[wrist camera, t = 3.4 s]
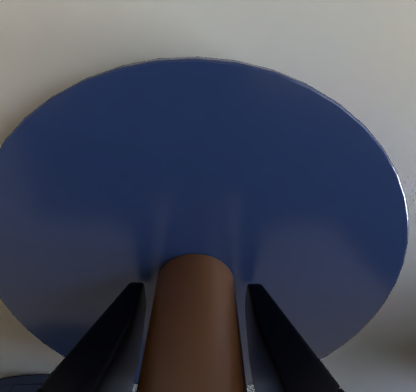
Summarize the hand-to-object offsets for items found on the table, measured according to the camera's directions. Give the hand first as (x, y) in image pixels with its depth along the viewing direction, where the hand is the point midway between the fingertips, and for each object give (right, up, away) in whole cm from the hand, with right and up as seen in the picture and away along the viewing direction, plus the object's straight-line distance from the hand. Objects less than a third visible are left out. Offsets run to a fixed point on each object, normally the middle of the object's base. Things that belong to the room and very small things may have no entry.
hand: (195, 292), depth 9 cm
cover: (0, 0, +1) cm, 1 cm away
